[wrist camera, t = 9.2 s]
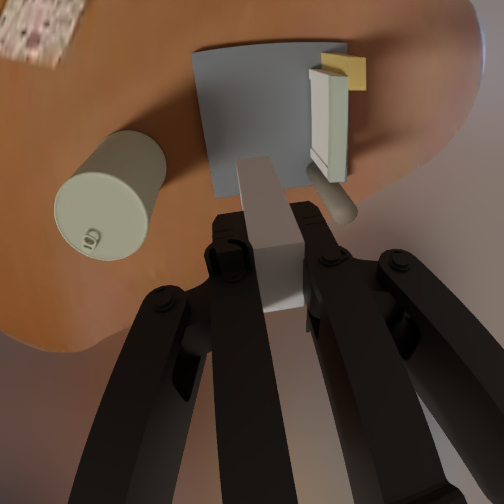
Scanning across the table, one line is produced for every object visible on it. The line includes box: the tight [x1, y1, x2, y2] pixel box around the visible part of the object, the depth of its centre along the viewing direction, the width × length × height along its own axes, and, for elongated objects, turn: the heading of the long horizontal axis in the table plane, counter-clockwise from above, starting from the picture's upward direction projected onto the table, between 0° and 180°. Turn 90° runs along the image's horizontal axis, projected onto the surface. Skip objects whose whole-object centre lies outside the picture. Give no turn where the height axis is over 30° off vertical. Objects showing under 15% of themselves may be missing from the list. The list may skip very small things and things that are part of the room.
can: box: [54, 130, 167, 260], centre depth 28 cm, size 9×9×12 cm
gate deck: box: [191, 42, 366, 225], centre depth 27 cm, size 17×16×11 cm
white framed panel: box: [309, 69, 348, 183], centre depth 27 cm, size 10×2×7 cm, turn 4°
